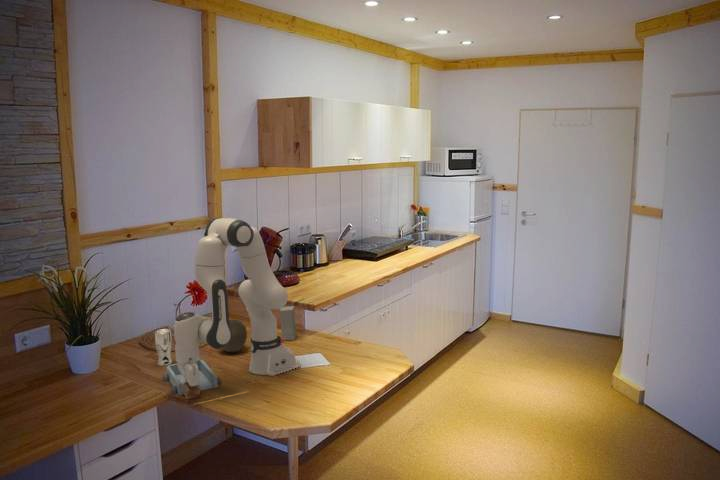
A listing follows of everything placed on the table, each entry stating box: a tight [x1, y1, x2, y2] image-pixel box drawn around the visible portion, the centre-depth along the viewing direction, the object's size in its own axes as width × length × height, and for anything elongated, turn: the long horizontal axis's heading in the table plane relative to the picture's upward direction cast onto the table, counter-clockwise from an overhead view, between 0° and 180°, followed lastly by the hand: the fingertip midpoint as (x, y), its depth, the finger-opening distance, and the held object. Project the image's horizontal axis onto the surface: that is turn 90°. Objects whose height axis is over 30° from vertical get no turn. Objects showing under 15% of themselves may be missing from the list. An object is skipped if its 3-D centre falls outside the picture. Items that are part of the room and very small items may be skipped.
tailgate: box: [188, 396, 221, 406], centre depth 220 cm, size 12×1×8 cm
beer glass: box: [154, 328, 173, 367], centre depth 256 cm, size 7×7×15 cm
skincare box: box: [279, 305, 297, 341], centre depth 288 cm, size 8×7×16 cm
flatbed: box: [161, 358, 222, 396], centre depth 233 cm, size 19×22×6 cm
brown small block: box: [183, 382, 201, 400], centre depth 219 cm, size 5×5×4 cm
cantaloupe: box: [222, 319, 248, 353], centre depth 270 cm, size 14×14×15 cm
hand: (189, 388), depth 223 cm, fingers closed
